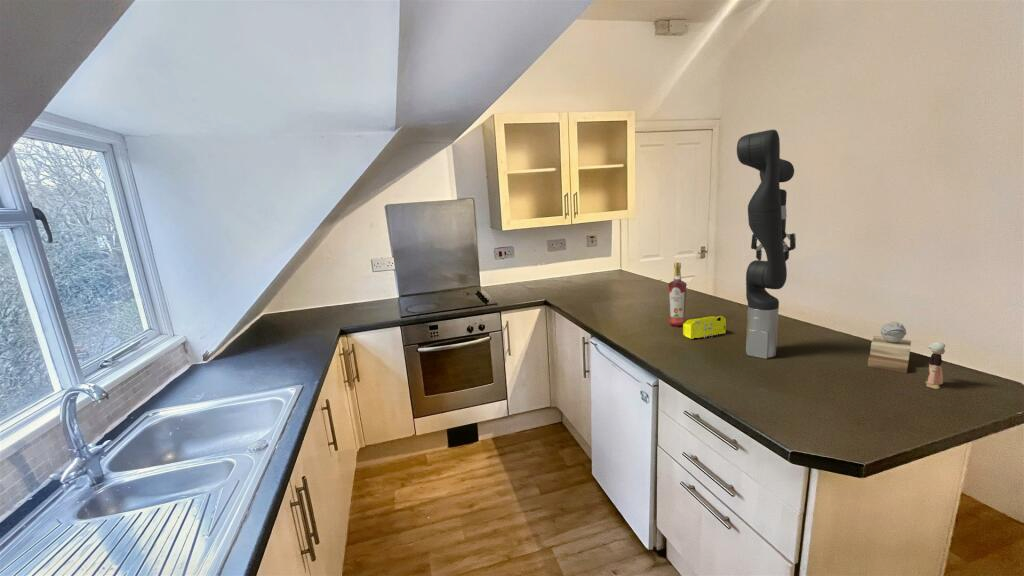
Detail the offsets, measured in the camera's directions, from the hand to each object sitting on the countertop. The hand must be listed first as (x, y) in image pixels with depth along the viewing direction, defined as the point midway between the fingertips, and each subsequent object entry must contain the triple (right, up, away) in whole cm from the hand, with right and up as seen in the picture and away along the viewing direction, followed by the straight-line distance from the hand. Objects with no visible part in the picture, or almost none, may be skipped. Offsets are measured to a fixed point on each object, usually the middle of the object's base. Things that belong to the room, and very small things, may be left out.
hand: (772, 260), depth 158 cm
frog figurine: (+22, -28, -26) cm, 44 cm away
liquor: (-26, -27, +25) cm, 46 cm away
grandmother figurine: (+19, -38, -42) cm, 60 cm away
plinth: (+20, -34, -27) cm, 48 cm away
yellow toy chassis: (-22, -31, +10) cm, 39 cm away
